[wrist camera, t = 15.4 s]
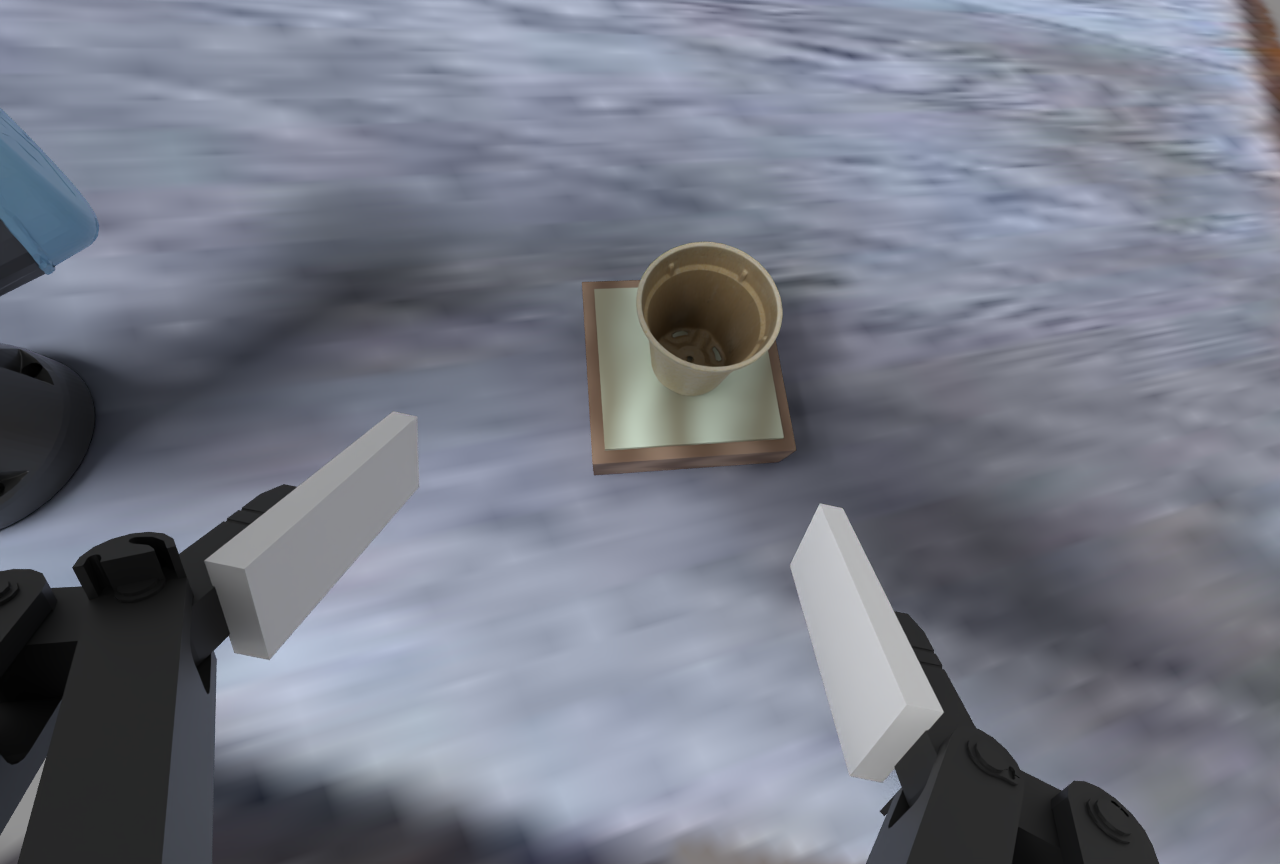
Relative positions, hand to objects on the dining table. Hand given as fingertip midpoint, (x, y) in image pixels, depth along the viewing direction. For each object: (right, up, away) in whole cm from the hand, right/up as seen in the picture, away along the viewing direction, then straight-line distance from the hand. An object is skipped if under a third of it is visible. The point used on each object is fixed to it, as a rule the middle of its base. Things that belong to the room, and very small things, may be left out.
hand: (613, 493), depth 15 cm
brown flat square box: (+4, +7, +27) cm, 28 cm away
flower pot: (+5, +8, +23) cm, 25 cm away
